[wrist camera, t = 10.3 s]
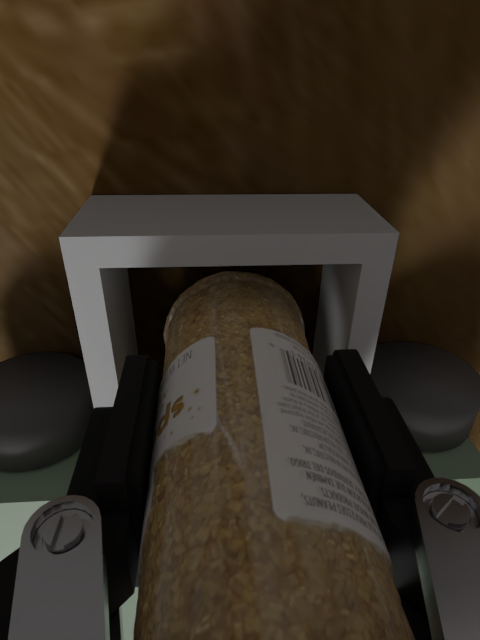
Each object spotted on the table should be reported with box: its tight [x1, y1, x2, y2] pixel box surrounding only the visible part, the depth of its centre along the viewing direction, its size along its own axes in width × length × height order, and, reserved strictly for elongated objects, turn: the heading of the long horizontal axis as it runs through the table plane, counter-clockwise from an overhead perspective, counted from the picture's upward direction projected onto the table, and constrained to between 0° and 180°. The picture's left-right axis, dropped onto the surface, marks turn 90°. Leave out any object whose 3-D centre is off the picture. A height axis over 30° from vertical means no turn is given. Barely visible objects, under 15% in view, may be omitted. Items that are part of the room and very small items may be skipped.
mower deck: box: [0, 194, 480, 640], centre depth 16 cm, size 17×19×5 cm
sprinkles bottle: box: [133, 271, 415, 640], centre depth 9 cm, size 5×5×13 cm
